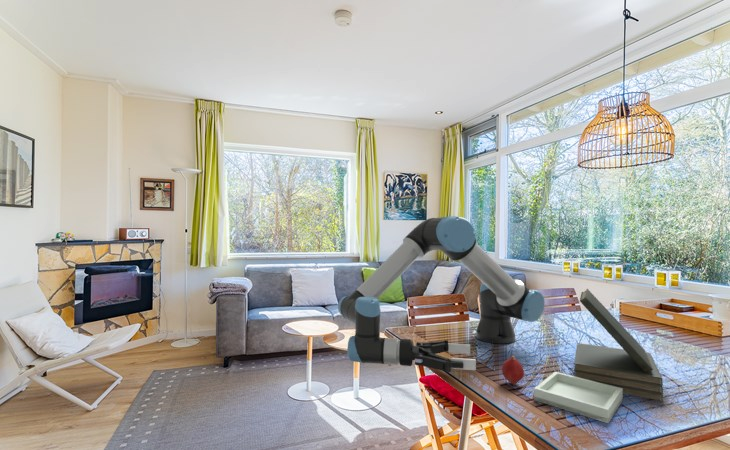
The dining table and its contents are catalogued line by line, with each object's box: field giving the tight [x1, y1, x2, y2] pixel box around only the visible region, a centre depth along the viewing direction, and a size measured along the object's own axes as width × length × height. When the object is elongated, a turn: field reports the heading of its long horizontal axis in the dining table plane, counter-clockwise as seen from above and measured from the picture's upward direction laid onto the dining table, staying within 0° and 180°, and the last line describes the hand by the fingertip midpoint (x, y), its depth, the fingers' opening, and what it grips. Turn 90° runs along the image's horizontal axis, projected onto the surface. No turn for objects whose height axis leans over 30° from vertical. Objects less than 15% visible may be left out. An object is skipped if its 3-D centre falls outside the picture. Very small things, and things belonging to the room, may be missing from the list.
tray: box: [533, 371, 624, 424], centre depth 92 cm, size 16×16×3 cm
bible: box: [573, 288, 664, 402], centre depth 106 cm, size 23×20×25 cm
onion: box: [501, 355, 525, 386], centre depth 102 cm, size 6×6×8 cm
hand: (472, 356), depth 104 cm, fingers open, 13 cm apart
